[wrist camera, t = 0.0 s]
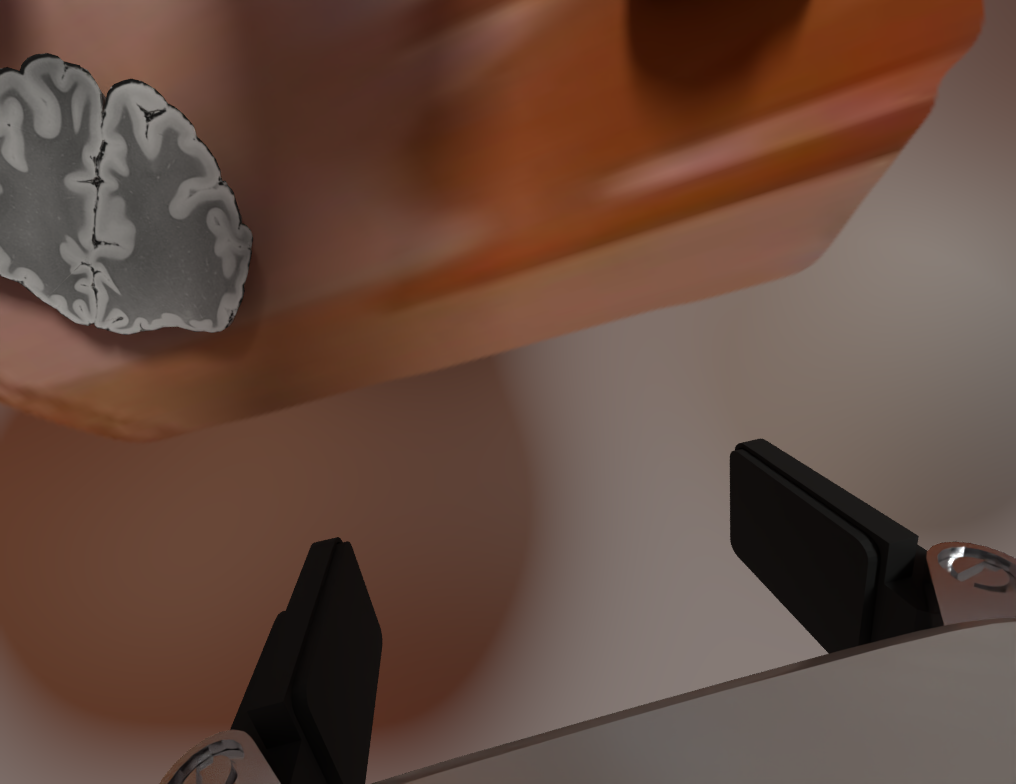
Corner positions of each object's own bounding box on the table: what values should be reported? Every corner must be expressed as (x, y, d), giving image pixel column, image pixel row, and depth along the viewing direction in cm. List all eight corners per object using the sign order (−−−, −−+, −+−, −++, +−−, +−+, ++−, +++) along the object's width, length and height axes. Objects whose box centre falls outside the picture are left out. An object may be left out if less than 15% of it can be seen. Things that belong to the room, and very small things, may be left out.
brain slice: (283, 133, 34) (270, 125, 32) (250, 351, 39) (236, 360, 36) (-41, 23, 30) (-90, 1, 27) (-35, 284, 34) (-77, 288, 32)
